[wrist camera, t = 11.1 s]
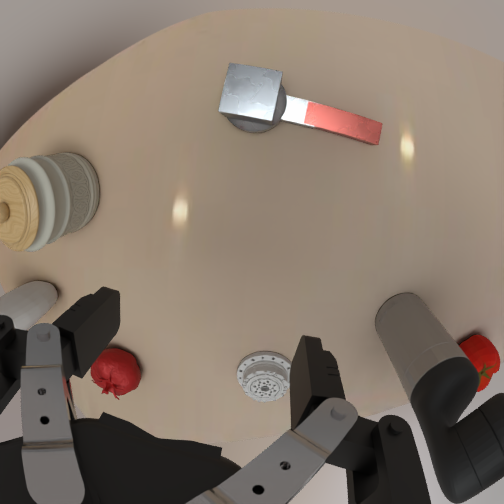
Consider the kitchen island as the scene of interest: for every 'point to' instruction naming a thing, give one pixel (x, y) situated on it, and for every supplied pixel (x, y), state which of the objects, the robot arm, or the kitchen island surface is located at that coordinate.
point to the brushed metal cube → (250, 94)
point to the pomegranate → (116, 372)
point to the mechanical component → (264, 375)
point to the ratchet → (317, 120)
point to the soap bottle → (28, 303)
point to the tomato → (482, 358)
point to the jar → (45, 199)
